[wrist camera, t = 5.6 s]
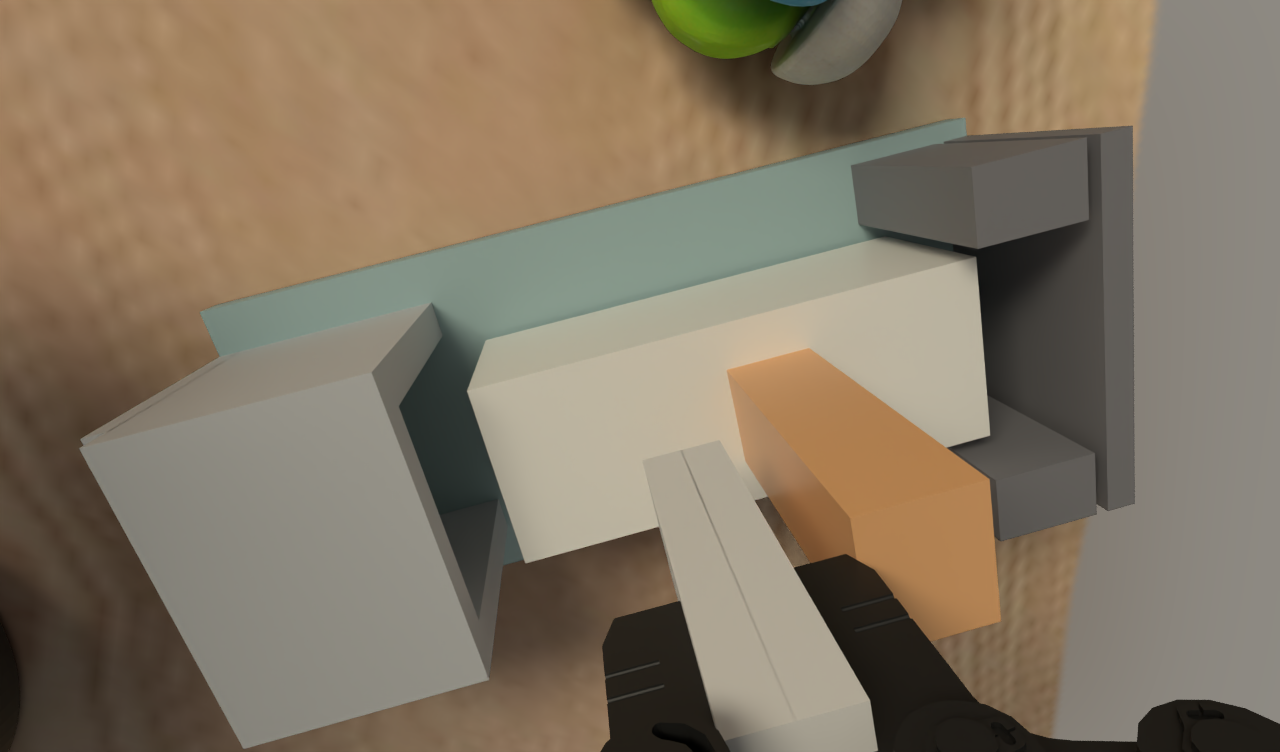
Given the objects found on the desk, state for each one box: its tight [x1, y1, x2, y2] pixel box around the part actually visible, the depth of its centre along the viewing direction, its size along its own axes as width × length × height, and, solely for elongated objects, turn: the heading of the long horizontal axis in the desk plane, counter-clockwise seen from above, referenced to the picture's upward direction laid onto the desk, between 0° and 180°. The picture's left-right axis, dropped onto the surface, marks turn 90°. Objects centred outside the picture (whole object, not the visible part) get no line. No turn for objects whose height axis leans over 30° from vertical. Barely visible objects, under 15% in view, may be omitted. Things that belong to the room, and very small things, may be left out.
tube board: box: [79, 118, 1135, 749], centre depth 18 cm, size 22×10×8 cm, turn 103°
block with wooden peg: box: [467, 236, 1001, 642], centre depth 15 cm, size 12×5×12 cm, turn 103°
